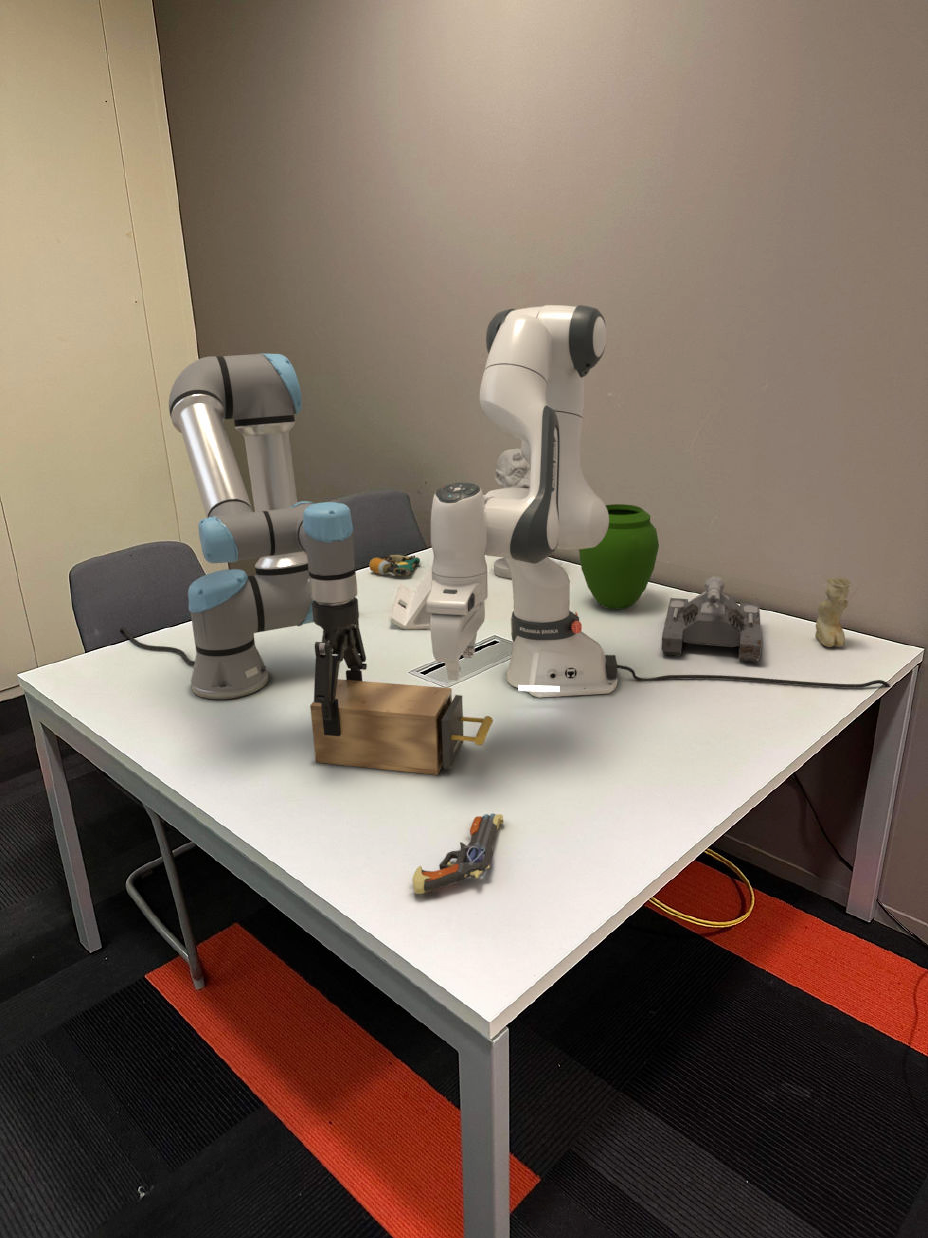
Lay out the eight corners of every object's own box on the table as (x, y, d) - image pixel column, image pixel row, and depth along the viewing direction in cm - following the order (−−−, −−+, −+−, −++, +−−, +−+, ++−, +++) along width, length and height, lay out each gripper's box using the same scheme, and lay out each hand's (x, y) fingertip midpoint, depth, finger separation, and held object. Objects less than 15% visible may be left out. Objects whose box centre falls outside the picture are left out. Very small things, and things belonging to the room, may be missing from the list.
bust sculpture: (503, 593, 225) (502, 460, 212) (483, 567, 247) (480, 445, 234) (562, 587, 228) (563, 456, 215) (536, 562, 250) (536, 441, 237)
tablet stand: (467, 593, 225) (465, 531, 219) (465, 628, 202) (462, 559, 196) (399, 594, 226) (395, 532, 220) (388, 629, 203) (384, 560, 197)
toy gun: (407, 882, 111) (482, 881, 109) (438, 809, 129) (503, 808, 126) (410, 900, 111) (485, 900, 109) (441, 825, 129) (505, 824, 127)
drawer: (494, 744, 148) (493, 697, 144) (482, 772, 139) (481, 723, 136) (353, 731, 153) (349, 686, 150) (334, 757, 145) (329, 710, 142)
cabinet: (453, 744, 150) (451, 688, 146) (437, 775, 140) (435, 716, 137) (338, 733, 155) (333, 678, 151) (315, 762, 145) (309, 705, 142)
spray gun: (389, 561, 257) (433, 568, 251) (360, 574, 243) (406, 581, 237) (389, 547, 256) (434, 554, 250) (360, 559, 242) (406, 566, 236)
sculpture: (821, 649, 184) (830, 583, 179) (808, 637, 191) (816, 573, 185) (848, 649, 184) (858, 582, 179) (834, 636, 191) (843, 572, 185)
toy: (669, 617, 205) (672, 557, 199) (757, 623, 199) (763, 562, 194) (660, 658, 182) (664, 591, 177) (759, 666, 177) (766, 598, 171)
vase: (599, 587, 227) (601, 497, 218) (668, 600, 216) (673, 505, 208) (562, 608, 212) (564, 513, 204) (634, 623, 202) (639, 523, 193)
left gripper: (338, 576, 151) (348, 689, 159) (283, 622, 130) (297, 749, 138) (379, 577, 149) (386, 692, 157) (329, 625, 128) (340, 754, 136)
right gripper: (457, 568, 146) (459, 643, 151) (422, 606, 127) (425, 690, 132) (493, 569, 144) (494, 645, 149) (463, 608, 126) (465, 694, 131)
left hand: (344, 719), depth 147 cm, fingers closed on cabinet, 11 cm apart
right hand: (461, 667), depth 140 cm, fingers open, 8 cm apart
